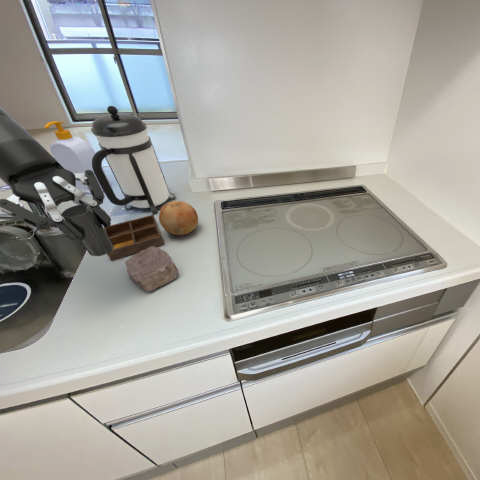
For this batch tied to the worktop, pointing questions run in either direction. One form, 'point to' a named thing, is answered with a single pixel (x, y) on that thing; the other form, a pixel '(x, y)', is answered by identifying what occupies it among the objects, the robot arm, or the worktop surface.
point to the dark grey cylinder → (89, 229)
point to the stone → (151, 268)
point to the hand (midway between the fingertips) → (95, 231)
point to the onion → (178, 217)
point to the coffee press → (128, 161)
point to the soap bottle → (72, 153)
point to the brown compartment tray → (133, 236)
